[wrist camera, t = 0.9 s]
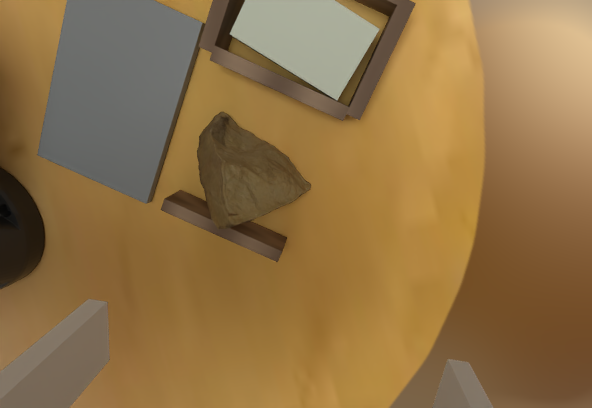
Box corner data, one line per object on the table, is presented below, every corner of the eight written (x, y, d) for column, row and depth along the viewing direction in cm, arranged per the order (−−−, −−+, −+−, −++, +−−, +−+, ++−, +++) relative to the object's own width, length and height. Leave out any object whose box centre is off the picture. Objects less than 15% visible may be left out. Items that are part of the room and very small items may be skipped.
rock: (165, 124, 31) (198, 229, 32) (181, 95, 24) (223, 233, 25) (270, 106, 36) (295, 197, 37) (311, 77, 29) (341, 192, 30)
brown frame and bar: (166, 195, 36) (149, 204, 32) (251, -66, 28) (240, -89, 25) (293, 252, 36) (288, 267, 33) (409, 7, 29) (419, -5, 25)
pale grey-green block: (238, 40, 31) (225, 31, 27) (270, -27, 29) (261, -47, 25) (336, 101, 32) (337, 100, 28) (373, 38, 30) (379, 29, 26)
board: (45, 153, 36) (37, 155, 35) (82, -32, 30) (74, -37, 29) (151, 201, 36) (146, 203, 35) (206, 25, 31) (202, 22, 30)
